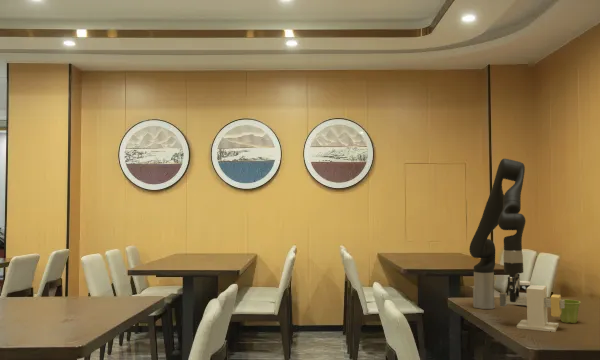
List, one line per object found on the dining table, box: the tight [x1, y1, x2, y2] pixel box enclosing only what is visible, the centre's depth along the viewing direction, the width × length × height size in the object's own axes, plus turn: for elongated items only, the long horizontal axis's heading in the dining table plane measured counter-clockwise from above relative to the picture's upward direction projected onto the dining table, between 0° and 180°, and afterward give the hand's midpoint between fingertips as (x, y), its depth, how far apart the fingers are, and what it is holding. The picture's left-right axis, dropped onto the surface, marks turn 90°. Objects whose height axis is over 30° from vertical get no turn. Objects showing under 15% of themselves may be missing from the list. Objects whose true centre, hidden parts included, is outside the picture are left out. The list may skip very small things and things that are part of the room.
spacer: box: [550, 294, 562, 318], centre depth 212 cm, size 3×8×8 cm, turn 149°
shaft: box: [499, 292, 566, 309], centre depth 217 cm, size 24×5×5 cm, turn 59°
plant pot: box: [559, 299, 581, 324], centre depth 225 cm, size 9×9×9 cm
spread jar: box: [517, 280, 531, 307], centre depth 263 cm, size 12×11×12 cm
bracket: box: [516, 284, 559, 333], centre depth 216 cm, size 14×13×16 cm
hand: (514, 300), depth 220 cm, fingers open, 8 cm apart
